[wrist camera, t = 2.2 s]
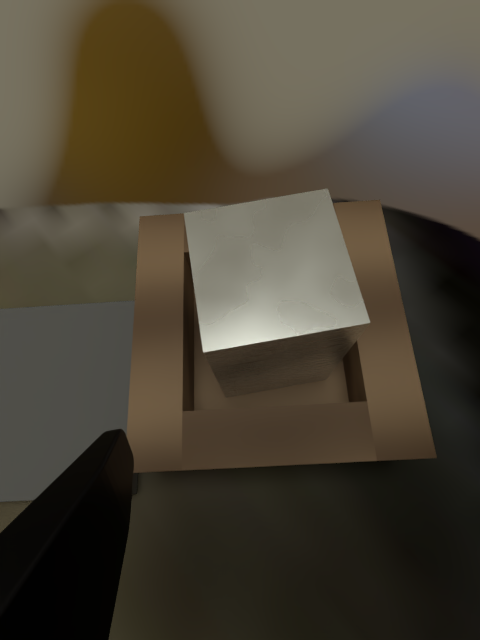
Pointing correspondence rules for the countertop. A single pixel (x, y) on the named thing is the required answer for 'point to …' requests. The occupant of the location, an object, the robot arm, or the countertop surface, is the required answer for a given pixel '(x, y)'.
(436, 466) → the countertop surface
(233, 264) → the steel peg
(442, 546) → the countertop surface
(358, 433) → the brown square tray
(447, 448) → the countertop surface
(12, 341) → the rubber pad
